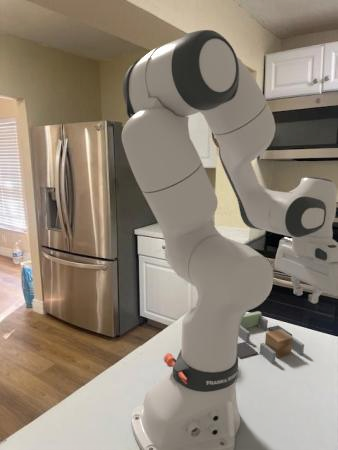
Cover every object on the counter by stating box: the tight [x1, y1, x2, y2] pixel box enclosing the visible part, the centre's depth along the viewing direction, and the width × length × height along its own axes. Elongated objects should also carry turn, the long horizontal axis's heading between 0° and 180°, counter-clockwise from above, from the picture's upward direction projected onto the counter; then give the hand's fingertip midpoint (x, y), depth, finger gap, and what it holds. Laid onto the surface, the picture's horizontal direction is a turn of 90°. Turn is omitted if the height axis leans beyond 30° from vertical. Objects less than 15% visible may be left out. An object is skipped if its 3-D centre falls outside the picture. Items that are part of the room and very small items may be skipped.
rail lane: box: [238, 310, 305, 364], centre depth 99 cm, size 11×20×4 cm, turn 24°
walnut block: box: [264, 329, 293, 359], centre depth 94 cm, size 5×5×5 cm
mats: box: [237, 325, 293, 359], centre depth 100 cm, size 22×10×1 cm, turn 114°
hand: (305, 298), depth 84 cm, fingers open, 3 cm apart
